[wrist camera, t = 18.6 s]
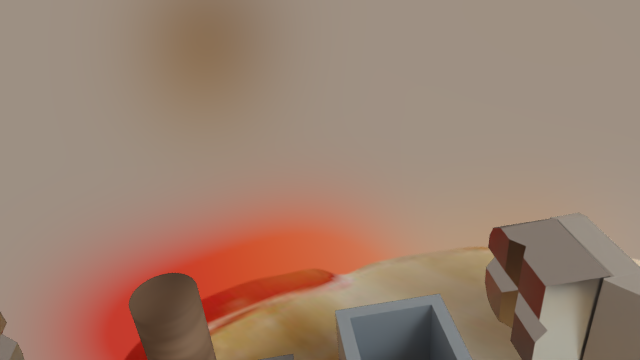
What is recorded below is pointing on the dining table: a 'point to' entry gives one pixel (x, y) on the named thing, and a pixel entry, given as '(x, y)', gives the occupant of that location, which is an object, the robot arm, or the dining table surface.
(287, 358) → the tray
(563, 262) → the robot arm
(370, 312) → the grey open-top box
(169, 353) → the walnut dowel
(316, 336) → the dining table surface
